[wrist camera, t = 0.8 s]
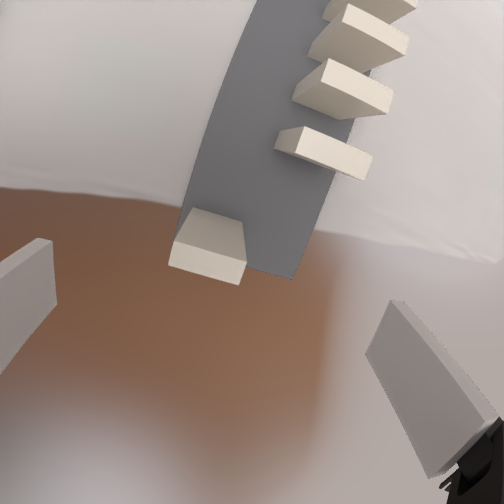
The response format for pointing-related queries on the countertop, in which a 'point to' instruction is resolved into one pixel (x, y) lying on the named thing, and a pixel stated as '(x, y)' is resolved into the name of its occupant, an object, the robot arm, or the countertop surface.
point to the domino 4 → (342, 92)
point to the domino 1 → (210, 246)
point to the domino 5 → (324, 151)
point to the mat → (266, 139)
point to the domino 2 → (373, 8)
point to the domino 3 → (358, 41)
